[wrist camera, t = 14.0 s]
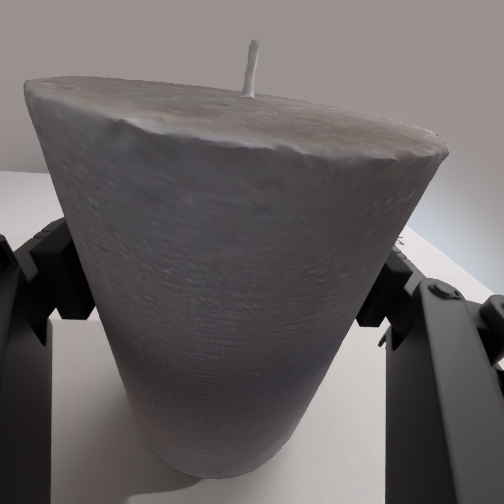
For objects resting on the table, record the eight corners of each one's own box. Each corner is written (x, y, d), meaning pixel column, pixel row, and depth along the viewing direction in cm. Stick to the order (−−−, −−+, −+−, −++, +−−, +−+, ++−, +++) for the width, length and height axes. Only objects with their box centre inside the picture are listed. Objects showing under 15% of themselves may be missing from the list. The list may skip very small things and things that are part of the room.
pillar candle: (161, 306, 18) (122, 35, 9) (291, 312, 19) (365, 71, 10) (96, 487, 10) (-536, -204, 1) (328, 483, 11) (784, 45, 2)
